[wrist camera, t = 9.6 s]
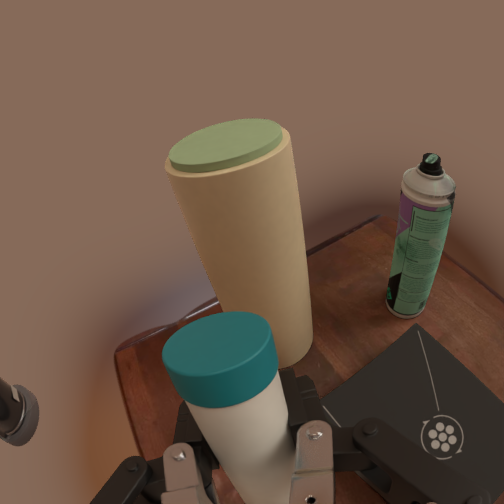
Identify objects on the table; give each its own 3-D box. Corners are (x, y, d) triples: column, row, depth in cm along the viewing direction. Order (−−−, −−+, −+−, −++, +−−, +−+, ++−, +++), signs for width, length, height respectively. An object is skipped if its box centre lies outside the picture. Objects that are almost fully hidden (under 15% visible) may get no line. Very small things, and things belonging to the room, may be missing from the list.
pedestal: (294, 380, 31) (250, 181, 16) (226, 354, 35) (139, 175, 20) (324, 318, 36) (308, 123, 21) (260, 300, 41) (211, 124, 25)
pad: (246, 176, 16) (244, 166, 16) (148, 171, 20) (146, 164, 19) (299, 125, 21) (298, 117, 20) (212, 126, 25) (211, 120, 24)
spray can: (425, 289, 36) (455, 149, 23) (423, 322, 32) (464, 175, 19) (388, 282, 38) (403, 141, 25) (382, 314, 35) (402, 165, 22)
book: (310, 414, 28) (309, 406, 26) (410, 336, 31) (416, 321, 29) (431, 552, 12) (442, 555, 10) (524, 446, 16) (539, 439, 14)
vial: (312, 503, 13) (334, 598, 4) (253, 513, 13) (214, 610, 4) (275, 344, 18) (258, 275, 9) (219, 356, 18) (142, 301, 9)
